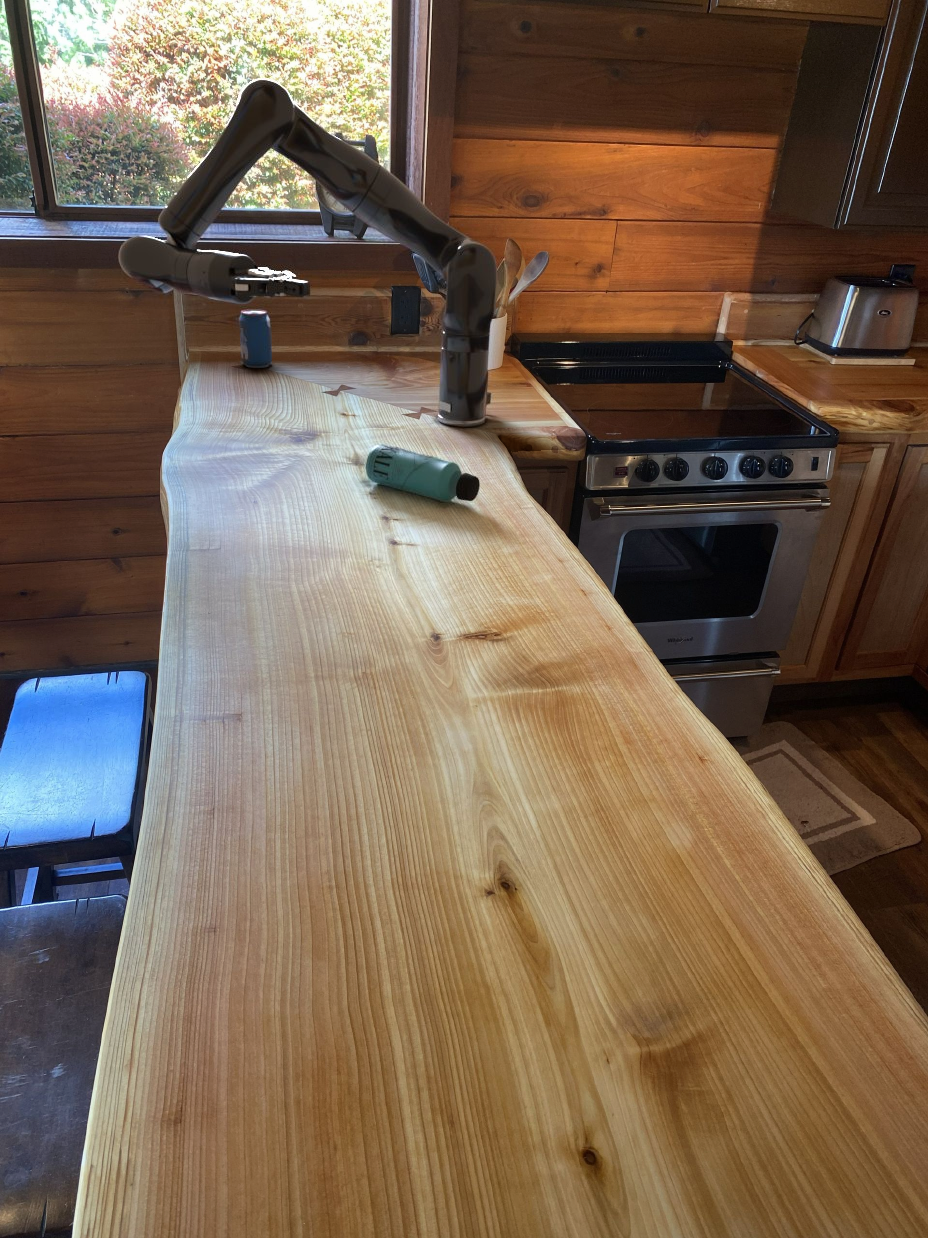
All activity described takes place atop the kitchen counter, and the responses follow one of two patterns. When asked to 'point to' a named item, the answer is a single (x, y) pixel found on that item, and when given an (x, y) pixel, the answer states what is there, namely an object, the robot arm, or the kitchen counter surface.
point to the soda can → (255, 338)
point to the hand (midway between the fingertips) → (307, 289)
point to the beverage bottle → (420, 474)
